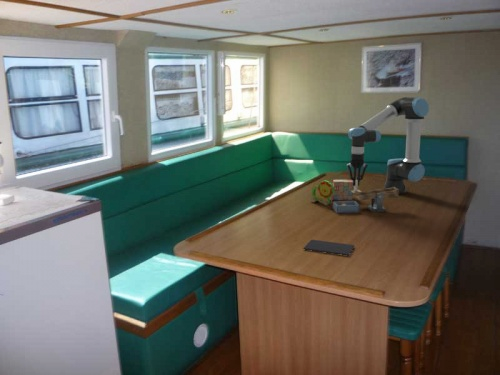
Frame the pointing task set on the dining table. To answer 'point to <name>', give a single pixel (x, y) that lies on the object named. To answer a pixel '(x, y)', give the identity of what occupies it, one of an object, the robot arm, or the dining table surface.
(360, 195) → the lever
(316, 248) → the notebook
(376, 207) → the fulcrum
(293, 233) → the dining table surface
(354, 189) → the robot arm
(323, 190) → the toy lion
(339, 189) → the stack of blocks
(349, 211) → the tray
